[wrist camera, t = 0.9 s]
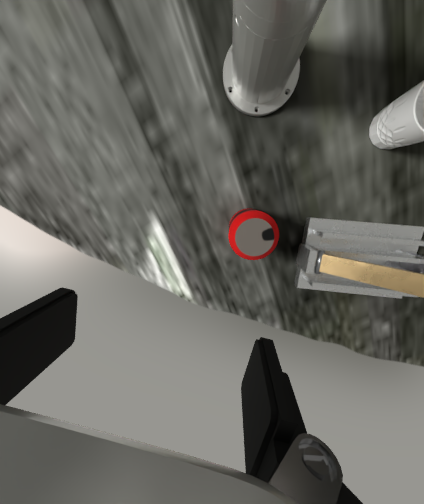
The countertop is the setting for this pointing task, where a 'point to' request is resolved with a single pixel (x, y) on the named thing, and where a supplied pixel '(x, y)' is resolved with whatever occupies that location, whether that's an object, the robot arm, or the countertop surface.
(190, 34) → the countertop surface
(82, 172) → the countertop surface
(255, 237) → the soda can
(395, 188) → the countertop surface
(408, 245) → the heatsink
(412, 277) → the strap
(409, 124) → the white cup
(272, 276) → the countertop surface
